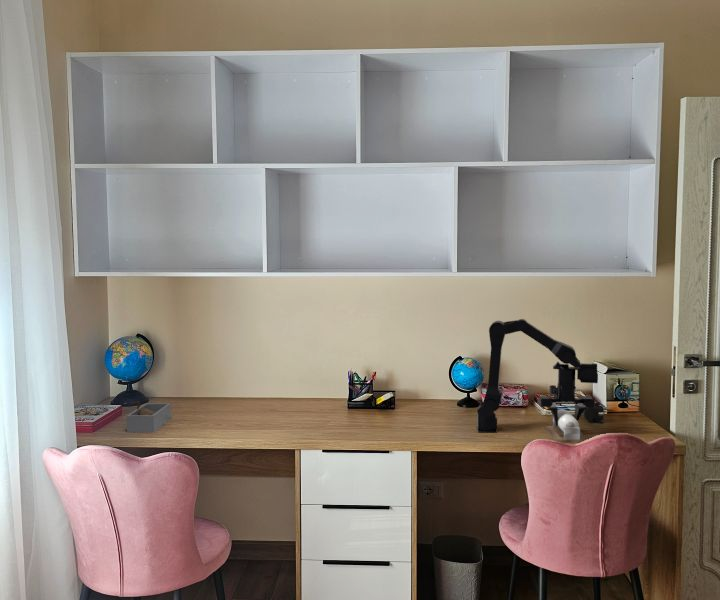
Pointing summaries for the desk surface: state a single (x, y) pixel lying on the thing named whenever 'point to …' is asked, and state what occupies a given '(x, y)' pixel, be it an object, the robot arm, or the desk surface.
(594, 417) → the end cap
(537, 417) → the desk surface
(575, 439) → the roll holder
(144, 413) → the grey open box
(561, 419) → the paper roll
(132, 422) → the box
